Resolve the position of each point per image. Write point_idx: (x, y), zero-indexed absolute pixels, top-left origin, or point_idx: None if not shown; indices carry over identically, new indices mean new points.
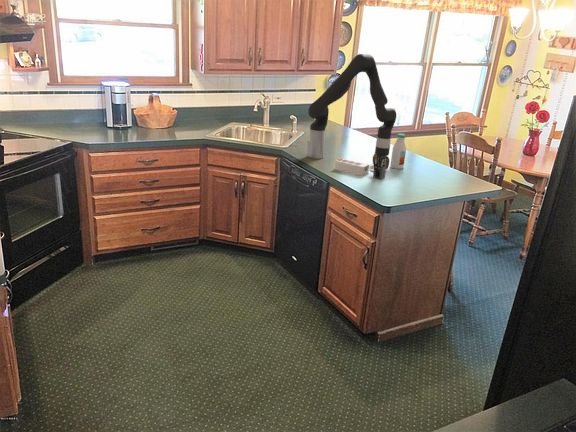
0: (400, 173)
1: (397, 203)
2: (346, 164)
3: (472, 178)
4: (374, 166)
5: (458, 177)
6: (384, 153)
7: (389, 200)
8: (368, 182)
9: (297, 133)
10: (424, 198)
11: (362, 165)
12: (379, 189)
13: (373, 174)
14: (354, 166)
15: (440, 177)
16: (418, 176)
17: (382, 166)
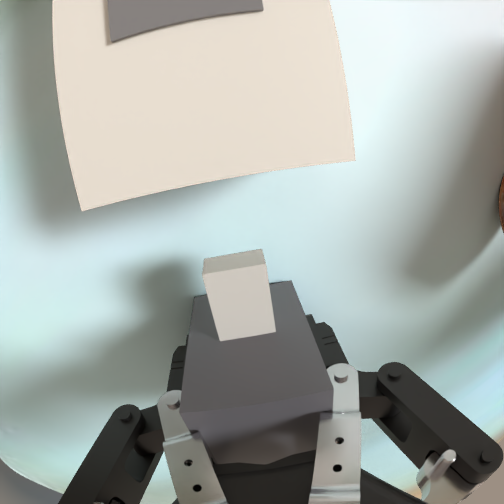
0: (485, 329)
1: (49, 485)
2: None
3: (499, 440)
4: (95, 457)
5: (499, 430)
6: None
7: (35, 471)
8: (50, 347)
9: None
10: None
11: (156, 108)
12: (52, 432)
13: (191, 319)
14: (64, 26)
15: (483, 425)
16: (467, 401)
17: (266, 463)
